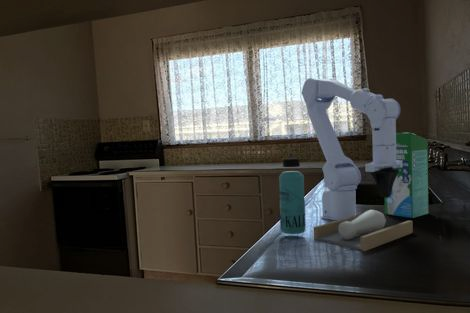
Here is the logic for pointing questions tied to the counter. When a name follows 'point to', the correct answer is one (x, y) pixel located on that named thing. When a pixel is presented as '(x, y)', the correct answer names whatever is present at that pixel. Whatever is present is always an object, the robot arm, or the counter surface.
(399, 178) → the milk carton
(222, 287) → the counter surface
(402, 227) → the tan u-shaped piece
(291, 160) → the beverage bottle
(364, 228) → the salt shaker
